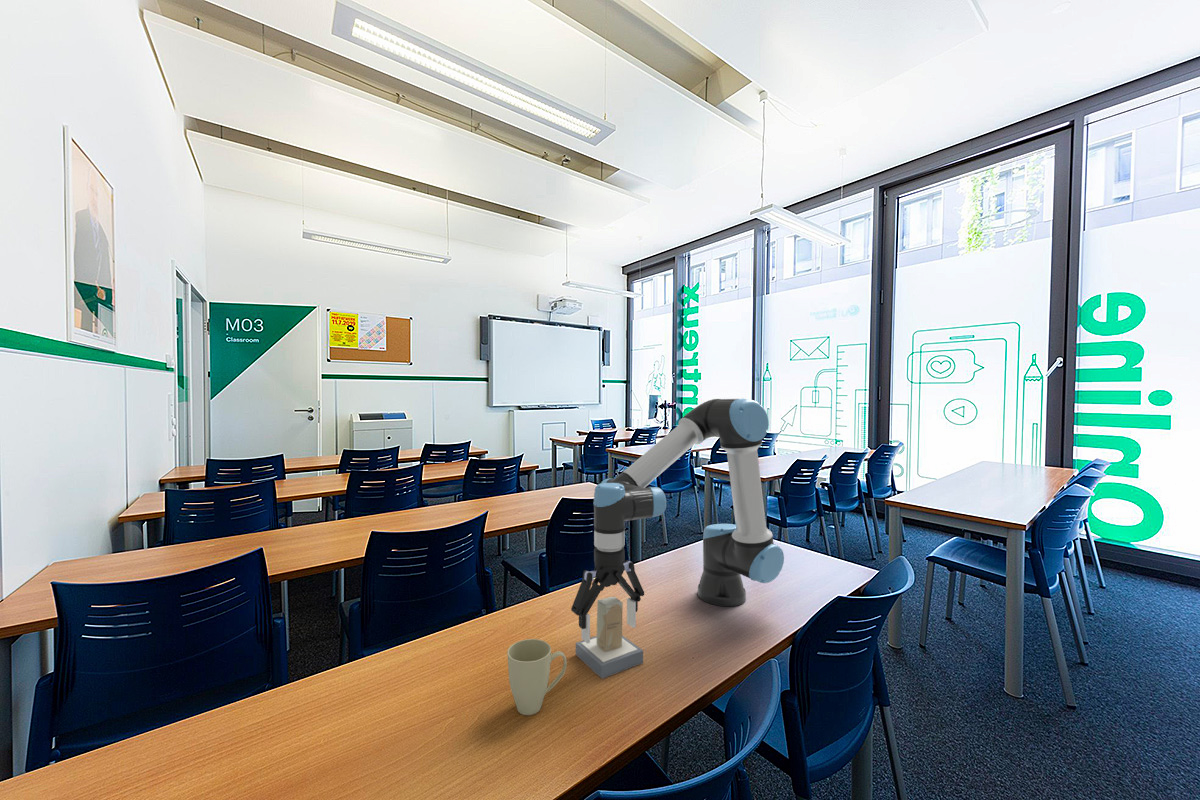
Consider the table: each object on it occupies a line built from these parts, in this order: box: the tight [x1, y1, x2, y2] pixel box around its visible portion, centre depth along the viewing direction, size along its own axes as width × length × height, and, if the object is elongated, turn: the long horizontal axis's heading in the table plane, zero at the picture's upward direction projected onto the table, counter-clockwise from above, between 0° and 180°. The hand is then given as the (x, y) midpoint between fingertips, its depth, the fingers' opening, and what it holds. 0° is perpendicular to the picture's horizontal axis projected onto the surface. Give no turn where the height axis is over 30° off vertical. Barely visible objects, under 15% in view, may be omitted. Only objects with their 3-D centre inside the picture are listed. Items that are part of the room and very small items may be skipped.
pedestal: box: [575, 634, 644, 680], centre depth 115 cm, size 12×12×3 cm
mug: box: [506, 638, 568, 716], centre depth 98 cm, size 11×10×12 cm
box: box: [596, 596, 624, 652], centre depth 115 cm, size 5×4×11 cm
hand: (609, 632), depth 115 cm, fingers open, 13 cm apart
